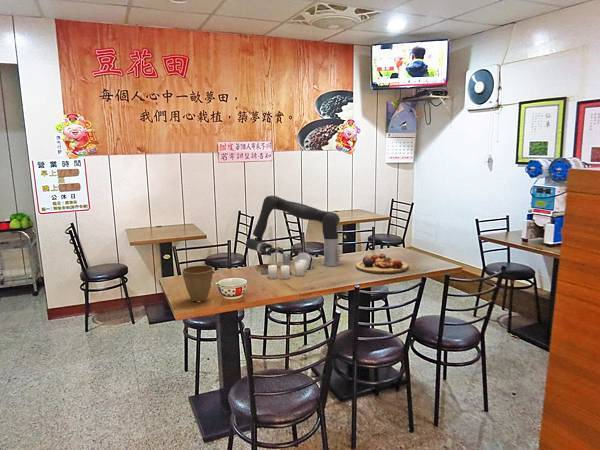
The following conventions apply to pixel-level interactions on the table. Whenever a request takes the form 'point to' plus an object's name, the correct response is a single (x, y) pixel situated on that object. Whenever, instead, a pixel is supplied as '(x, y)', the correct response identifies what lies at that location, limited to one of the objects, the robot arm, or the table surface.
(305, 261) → the spacer
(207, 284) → the plant pot
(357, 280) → the table surface
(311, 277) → the table surface
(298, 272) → the spacer
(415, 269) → the table surface
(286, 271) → the spacer
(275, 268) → the cylinder
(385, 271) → the wooden plate with food
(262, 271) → the mat
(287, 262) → the bushing
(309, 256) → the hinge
